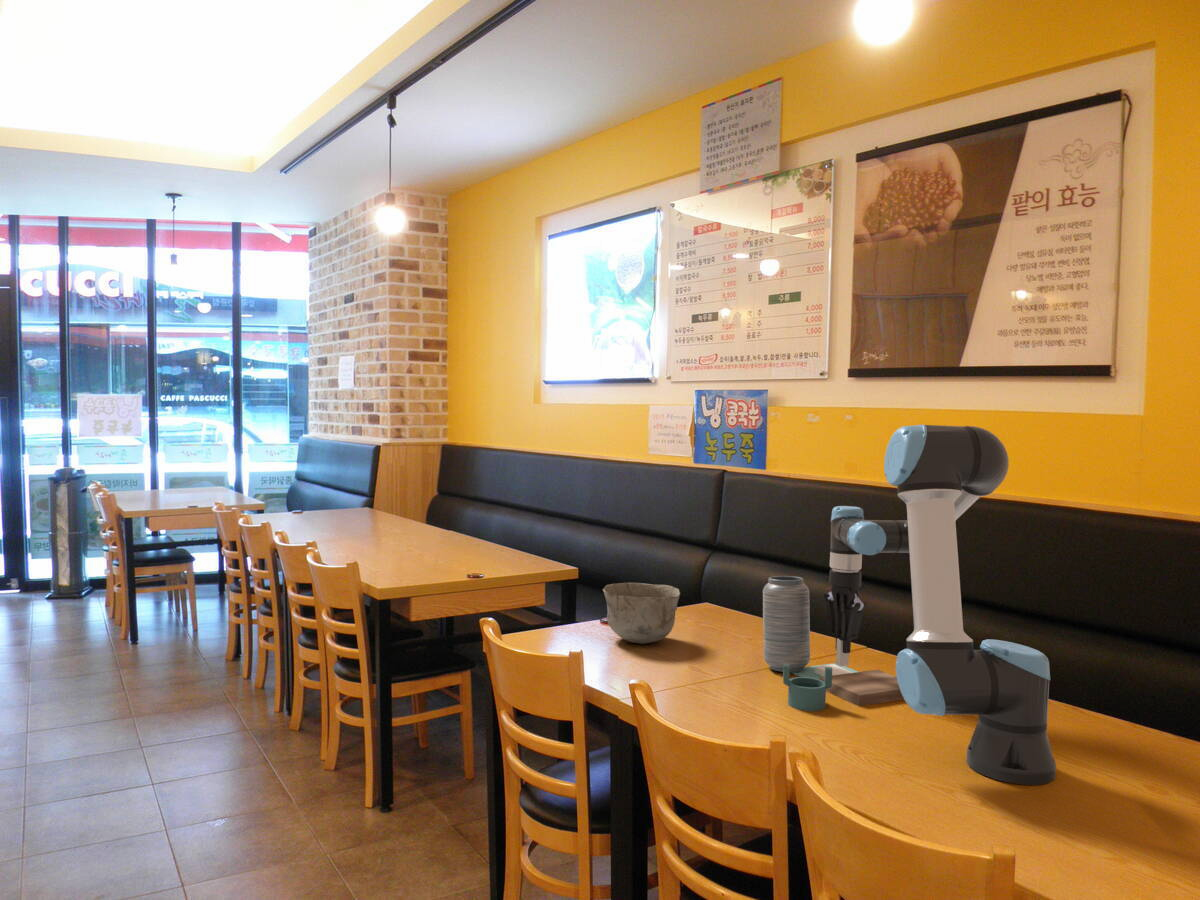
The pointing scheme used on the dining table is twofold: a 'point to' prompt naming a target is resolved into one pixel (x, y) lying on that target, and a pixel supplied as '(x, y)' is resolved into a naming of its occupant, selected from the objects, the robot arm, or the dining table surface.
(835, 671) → the white rectangular block
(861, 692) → the brown wooden flat board
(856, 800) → the dining table surface
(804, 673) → the mat
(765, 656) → the vase
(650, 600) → the bowl
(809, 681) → the bracket
